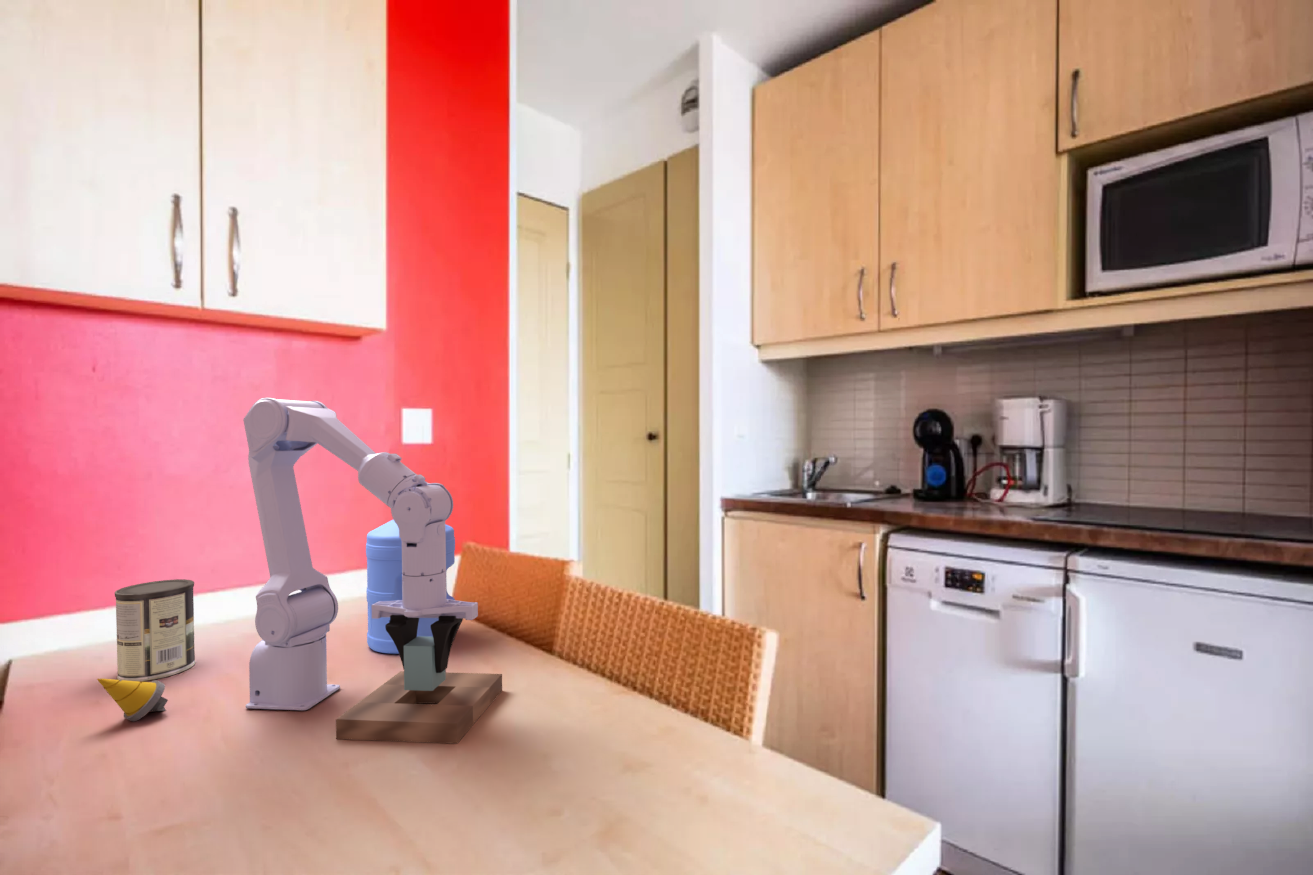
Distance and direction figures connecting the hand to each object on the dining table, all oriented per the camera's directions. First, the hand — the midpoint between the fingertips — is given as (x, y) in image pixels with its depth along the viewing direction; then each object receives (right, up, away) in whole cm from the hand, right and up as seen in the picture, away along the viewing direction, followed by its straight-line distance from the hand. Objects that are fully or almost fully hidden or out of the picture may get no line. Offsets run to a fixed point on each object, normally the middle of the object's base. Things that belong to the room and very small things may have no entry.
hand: (425, 669), depth 85 cm
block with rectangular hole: (0, -6, 0) cm, 6 cm away
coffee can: (-51, -7, +17) cm, 55 cm away
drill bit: (-39, -7, -1) cm, 40 cm away
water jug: (-14, -6, +31) cm, 34 cm away
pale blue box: (0, -2, 0) cm, 2 cm away
